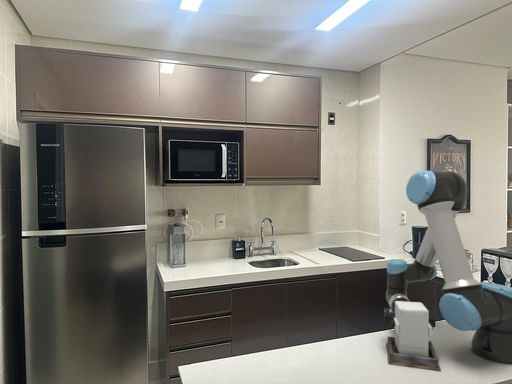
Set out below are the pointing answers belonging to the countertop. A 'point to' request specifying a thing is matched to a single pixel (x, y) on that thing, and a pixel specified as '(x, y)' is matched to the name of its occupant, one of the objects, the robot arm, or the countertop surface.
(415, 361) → the gray rimmed tray
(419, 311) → the supplement box
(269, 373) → the countertop surface
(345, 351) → the countertop surface
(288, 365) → the countertop surface
